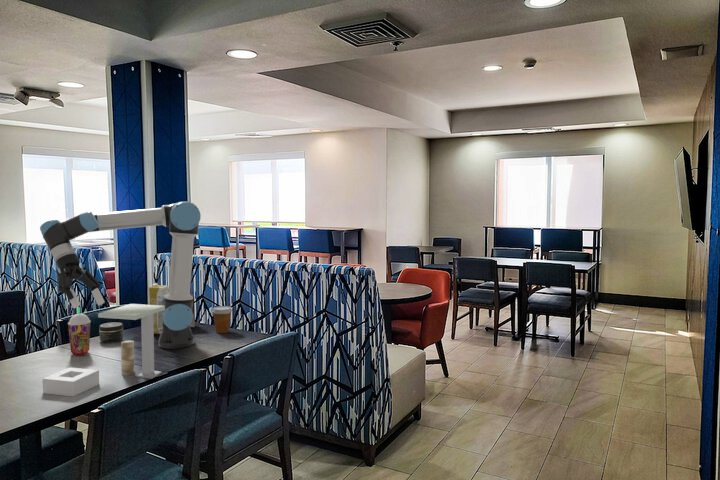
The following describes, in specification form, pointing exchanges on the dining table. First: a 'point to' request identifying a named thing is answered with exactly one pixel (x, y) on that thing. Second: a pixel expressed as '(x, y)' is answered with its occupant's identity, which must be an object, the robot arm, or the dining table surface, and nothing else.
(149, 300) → the juice carton
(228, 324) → the disposable coffee cup
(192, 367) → the dining table surface
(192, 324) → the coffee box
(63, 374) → the socket
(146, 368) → the white pedestal side table
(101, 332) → the jar
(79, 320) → the smoothie
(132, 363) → the peg
